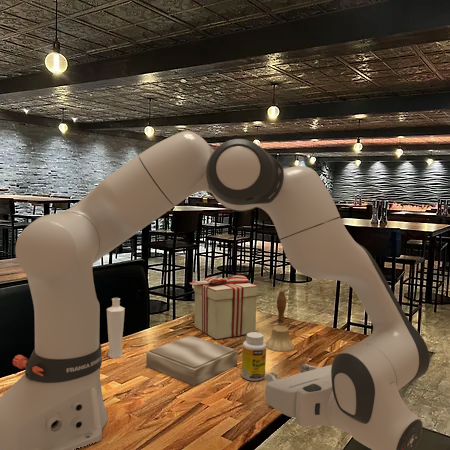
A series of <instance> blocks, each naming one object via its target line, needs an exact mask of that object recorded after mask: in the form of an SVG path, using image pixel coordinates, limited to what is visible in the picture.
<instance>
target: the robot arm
mask: <svg viewBox="0 0 450 450" xmlns="http://www.w3.org/2000/svg"><path fill="white" fill-rule="evenodd" d="M200 192H205V193H207V194H208V195H209V196H211V197H212V198H214V200H216V201H217V202H218V203H219V204H221V205H222V206H223V207H224V208H227V209H228V210H230V211H234V212H239V213H245V212H250V211H252V210H253V211H254V210H255V209H257V208H258V209H262V210H263V211H264V212H265V213H266V214H267V215H268V216H269V217H270V219H271V221H272V222H273V225H274V227H275V230H276V232H277V233H276V234H277V236H278V239H279V241H280V244H281V247H282V249H283V252H284V254H285V256H286V259H287V260H288V262H289V264H290V265H291V266H292V268H293V269H294V270H296V272H299V273H300V274H302V275H304V276H306V277H309V278H312V279H316V280H332V281H333V280H335V281H340V282H342V283H345V284H347V285H348V286H350V288H352V290H353V291H354V292H355V294H356V296H357V298H358V300H359V302H360V303H361V305H362V306H363V309H364V311H365V313H366V314H367V316H368V318H369V320H370V322H371V324H372V326H373V327H372V332H371V334H370V335H369V336H367V337H365V338H363V339H361V340H360V341H359V342H356V343H355V344H352V345H351V346H350V347H348V348H346V349H345V350H343V351H342V352H340V353H339V354H337V355H335V357H334V358H333V360H332V363H331V364H329V365H325V366H313V365H309V364H308V363H304V364H300V365H299V373H296V374H293V375H289V376H286V377H281V378H278V374H276V373H275V372H268V373H266V374H265V376H266V377H265V380H266V384H265V390H264V397H265V402H266V403H267V404H268V405H269V406H271V407H272V408H274V409H275V410H276V411H278V412H280V413H281V414H282V415H285V416H287V417H289V418H295V423H296V424H297V425H299V426H300V427H304V428H306V427H308V428H309V427H319V426H320V427H321V426H322V427H323V426H324V427H334V428H336V429H337V430H339V431H342V432H346V433H348V434H349V435H350V436H351V437H352V438H353V439H354V440H355V441H357V442H359V443H360V444H362V445H363V446H365V447H367V448H368V449H370V450H414V449H416V448H417V447H416V446H417V445H418V443H419V442H420V440H421V437H422V434H423V421H422V419H421V418H420V417H419V416H418V415H416V414H415V413H414V412H412V411H411V410H410V409H409V407H408V406H407V405H406V403H405V401H404V400H403V399H402V397H401V394H400V393H399V390H400V389H402V388H403V387H404V386H406V385H408V384H410V383H412V382H414V381H415V380H418V379H420V378H421V377H422V376H424V375H425V374H426V373H427V371H428V370H429V366H430V360H431V359H430V352H429V347H428V346H427V343H426V341H425V339H424V337H422V335H421V334H420V333H419V331H418V330H417V328H415V327H414V325H413V324H412V323H411V321H410V319H409V318H408V317H407V315H406V313H405V312H404V309H403V308H402V306H401V304H400V302H399V301H398V298H396V295H395V293H394V292H393V290H392V288H391V287H390V285H389V283H388V281H387V279H386V278H385V275H384V274H383V272H382V270H381V268H380V267H379V264H378V263H377V262H376V260H375V258H373V256H372V254H371V253H370V252H369V251H368V249H367V248H365V246H363V245H361V244H360V243H358V242H356V241H355V240H354V238H353V237H352V235H351V234H350V233H349V231H348V230H347V228H346V226H345V225H344V222H343V220H342V217H341V215H340V212H339V211H338V208H337V206H336V203H335V202H334V199H333V197H332V195H331V194H330V192H329V189H328V188H327V187H326V185H325V184H324V182H323V180H322V178H321V177H320V176H319V174H318V172H317V171H315V170H314V169H313V168H312V167H308V166H306V165H305V166H304V165H298V166H297V165H295V166H291V167H287V168H284V166H283V164H282V163H281V162H280V161H278V160H277V159H276V158H275V157H273V156H272V155H271V154H270V153H269V152H267V151H266V150H265V149H264V148H262V147H261V146H260V145H259V144H257V143H256V142H253V141H251V140H249V139H245V138H244V139H243V138H233V139H229V140H227V141H224V142H222V143H220V145H218V146H217V147H216V148H215V149H214V148H212V147H211V146H210V145H209V143H208V142H207V141H206V140H205V139H204V138H203V137H202V136H200V135H199V134H198V133H196V132H194V131H193V132H192V131H188V130H185V131H180V132H177V133H175V134H173V135H171V136H169V137H167V138H165V139H163V140H161V141H159V142H157V143H156V144H154V145H152V146H150V147H149V148H147V149H145V150H144V151H143V152H141V153H139V154H138V155H137V156H135V157H134V158H132V159H130V160H129V161H127V163H125V164H124V165H122V166H121V167H119V168H118V169H116V170H115V171H113V172H112V173H111V174H110V175H108V176H107V177H105V178H104V179H102V180H101V181H100V182H99V184H97V185H96V186H95V187H94V188H93V189H92V190H90V191H89V193H88V194H87V195H85V196H83V198H81V199H80V200H79V201H78V202H77V203H75V204H74V205H72V206H71V207H70V208H68V209H66V210H64V211H61V212H58V213H49V214H45V215H43V216H40V217H38V218H36V219H35V220H33V221H32V222H30V223H29V225H27V226H26V227H25V228H24V229H23V230H22V231H21V233H20V234H19V236H18V238H17V240H16V243H15V259H16V262H17V263H18V266H20V267H19V268H21V269H22V271H23V272H24V273H25V275H26V278H27V282H28V286H29V287H28V288H29V290H30V294H31V299H32V304H33V311H34V313H33V314H34V349H33V350H32V353H31V354H30V357H29V358H28V357H26V356H24V355H22V354H17V355H15V356H14V358H13V359H12V366H14V367H17V368H18V369H21V370H22V369H24V374H23V375H22V376H21V377H19V379H18V380H17V381H16V382H15V383H14V384H13V385H12V386H10V388H8V390H7V391H5V392H4V394H2V395H1V396H0V450H73V449H76V448H79V447H82V448H85V447H88V446H90V445H92V443H93V444H96V443H97V442H100V441H101V440H102V439H103V428H104V427H105V426H106V424H107V422H108V419H109V417H108V412H107V410H106V406H105V403H104V397H103V392H102V390H103V389H102V382H101V367H102V362H103V360H102V357H103V356H102V352H103V351H102V344H101V343H100V318H101V317H100V316H101V315H100V313H101V312H100V310H101V309H100V302H99V300H98V297H97V293H96V288H95V283H94V274H93V266H94V263H96V262H98V261H99V260H101V259H102V258H103V257H105V256H107V254H109V253H110V252H112V251H113V250H114V249H116V248H117V247H119V246H120V245H122V244H123V243H124V242H126V241H127V240H129V239H130V238H132V237H133V236H134V235H136V234H138V232H140V231H142V230H143V229H144V228H146V227H147V226H148V225H150V224H152V223H153V222H154V221H156V220H158V219H159V218H161V217H162V216H163V215H164V214H166V213H167V212H169V211H171V210H172V209H174V207H175V206H178V205H179V204H180V203H182V202H183V201H184V200H186V199H188V198H189V197H191V196H192V195H194V194H196V193H200ZM95 442H96V443H95ZM89 444H90V445H89ZM87 445H88V446H87ZM84 446H85V447H84ZM79 449H80V448H79Z"/></svg>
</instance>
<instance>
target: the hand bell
mask: <svg viewBox="0 0 450 450" xmlns="http://www.w3.org/2000/svg"><path fill="white" fill-rule="evenodd" d="M276 308H277V313H278V318H277V325H275V326H273V328H272V332H271V336H270V338H269V339H268V340H267V341H266V343H265V344H266V349H268V350H271V351H274V352H278V353H279V352H281V353H283V352H284V353H285V352H292V351H293V350H294V349H295V344H294V343H293V342H292V340H291V338H290V331H289V328H288V326H285V311H286V308H287V297H286V295H285V291H283V290H282V291H281V290H280V291H279V293H278V296H277V299H276Z"/></svg>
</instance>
